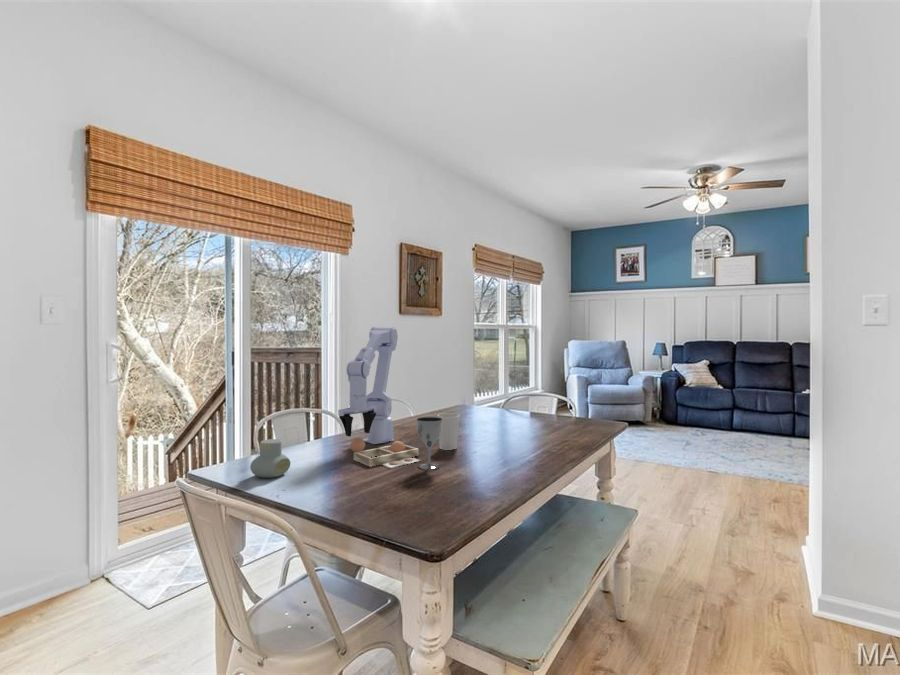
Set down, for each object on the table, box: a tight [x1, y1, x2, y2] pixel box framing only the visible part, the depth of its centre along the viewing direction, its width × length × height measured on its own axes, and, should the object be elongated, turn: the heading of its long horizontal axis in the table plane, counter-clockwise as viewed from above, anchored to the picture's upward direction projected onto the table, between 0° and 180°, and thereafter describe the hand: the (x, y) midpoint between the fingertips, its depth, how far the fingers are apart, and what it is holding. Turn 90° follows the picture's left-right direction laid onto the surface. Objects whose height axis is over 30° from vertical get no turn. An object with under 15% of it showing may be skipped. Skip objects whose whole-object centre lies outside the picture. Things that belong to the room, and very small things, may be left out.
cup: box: [436, 412, 461, 450], centre depth 171 cm, size 8×8×12 cm
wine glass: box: [416, 416, 442, 470], centre depth 148 cm, size 8×8×15 cm
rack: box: [353, 444, 422, 469], centre depth 155 cm, size 19×16×2 cm
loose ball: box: [350, 437, 366, 453], centre depth 165 cm, size 5×5×5 cm
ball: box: [390, 440, 406, 453], centre depth 160 cm, size 5×5×5 cm
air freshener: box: [249, 438, 291, 479], centre depth 138 cm, size 11×8×10 cm
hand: (357, 434), depth 165 cm, fingers open, 7 cm apart
